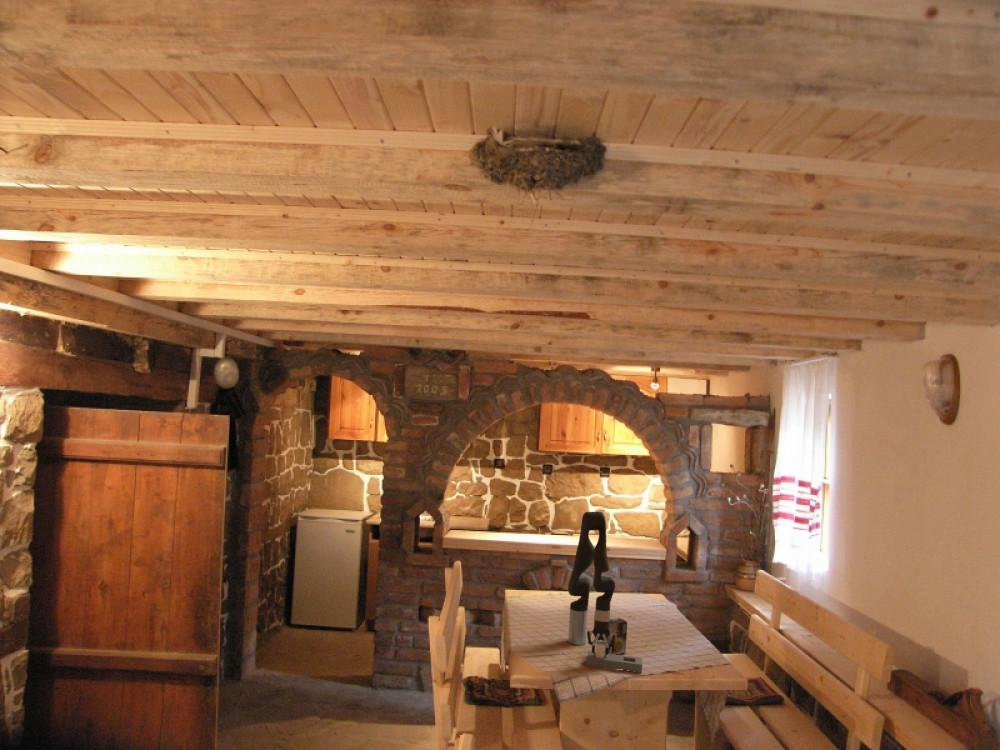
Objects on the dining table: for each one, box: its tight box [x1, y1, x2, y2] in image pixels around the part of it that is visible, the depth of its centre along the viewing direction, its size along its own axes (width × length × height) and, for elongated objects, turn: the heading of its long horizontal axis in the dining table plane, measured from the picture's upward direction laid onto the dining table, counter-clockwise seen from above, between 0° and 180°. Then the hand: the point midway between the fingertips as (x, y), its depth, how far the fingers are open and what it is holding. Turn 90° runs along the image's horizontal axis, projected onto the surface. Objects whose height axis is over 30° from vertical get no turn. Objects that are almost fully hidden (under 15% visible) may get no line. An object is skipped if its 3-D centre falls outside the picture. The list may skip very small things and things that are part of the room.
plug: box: [595, 640, 605, 658], centre depth 366 cm, size 4×4×11 cm
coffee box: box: [604, 617, 628, 655], centre depth 385 cm, size 9×6×16 cm
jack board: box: [585, 650, 643, 674], centre depth 364 cm, size 10×26×4 cm, turn 80°
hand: (600, 654), depth 366 cm, fingers open, 5 cm apart
